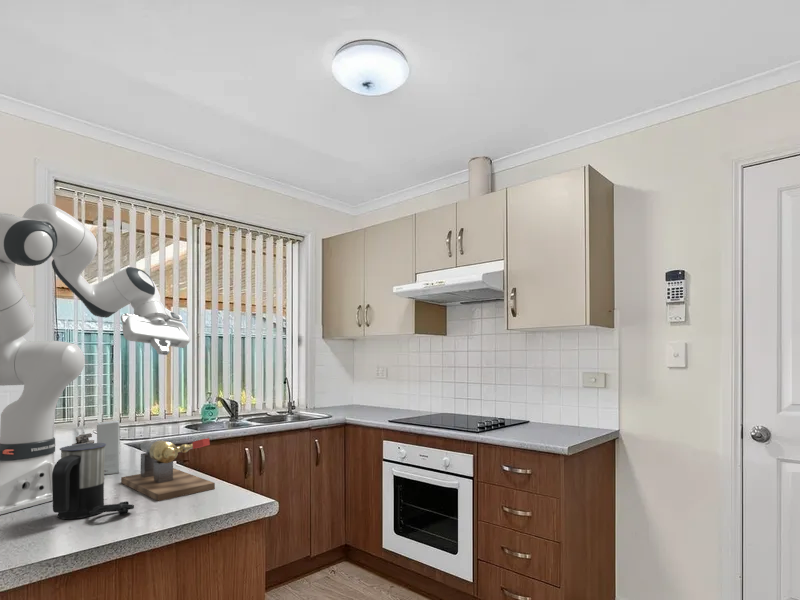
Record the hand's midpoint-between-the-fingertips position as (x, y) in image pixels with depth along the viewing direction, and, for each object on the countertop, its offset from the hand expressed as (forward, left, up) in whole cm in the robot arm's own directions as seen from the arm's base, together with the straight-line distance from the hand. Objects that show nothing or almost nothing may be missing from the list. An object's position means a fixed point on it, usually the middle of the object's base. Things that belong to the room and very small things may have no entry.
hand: (163, 353), depth 158 cm
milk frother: (-36, -11, -35) cm, 51 cm away
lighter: (+7, +34, -35) cm, 50 cm away
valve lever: (-7, -12, -26) cm, 29 cm away
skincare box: (+1, +19, -35) cm, 40 cm away
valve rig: (-12, -10, -35) cm, 38 cm away
